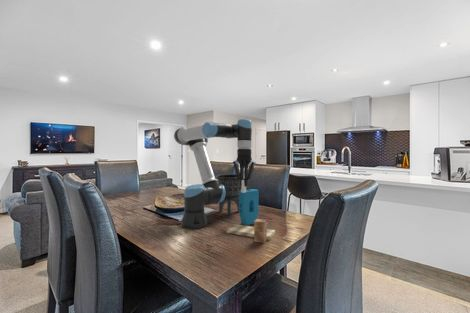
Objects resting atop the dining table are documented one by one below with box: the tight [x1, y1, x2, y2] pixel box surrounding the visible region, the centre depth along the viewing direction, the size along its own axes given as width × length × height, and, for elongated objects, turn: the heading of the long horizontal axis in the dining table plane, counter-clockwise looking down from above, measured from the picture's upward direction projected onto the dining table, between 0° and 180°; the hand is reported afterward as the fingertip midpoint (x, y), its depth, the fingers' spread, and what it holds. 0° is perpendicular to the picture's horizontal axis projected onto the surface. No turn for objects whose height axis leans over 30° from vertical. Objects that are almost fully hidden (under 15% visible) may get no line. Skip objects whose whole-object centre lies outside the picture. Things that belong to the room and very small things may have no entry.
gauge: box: [253, 218, 269, 244], centre depth 113 cm, size 5×12×10 cm, turn 155°
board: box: [226, 223, 276, 241], centre depth 121 cm, size 24×10×2 cm, turn 65°
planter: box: [215, 174, 242, 217], centre depth 160 cm, size 20×20×26 cm
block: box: [238, 188, 260, 226], centre depth 137 cm, size 12×5×20 cm, turn 125°
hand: (243, 192), depth 121 cm, fingers closed
